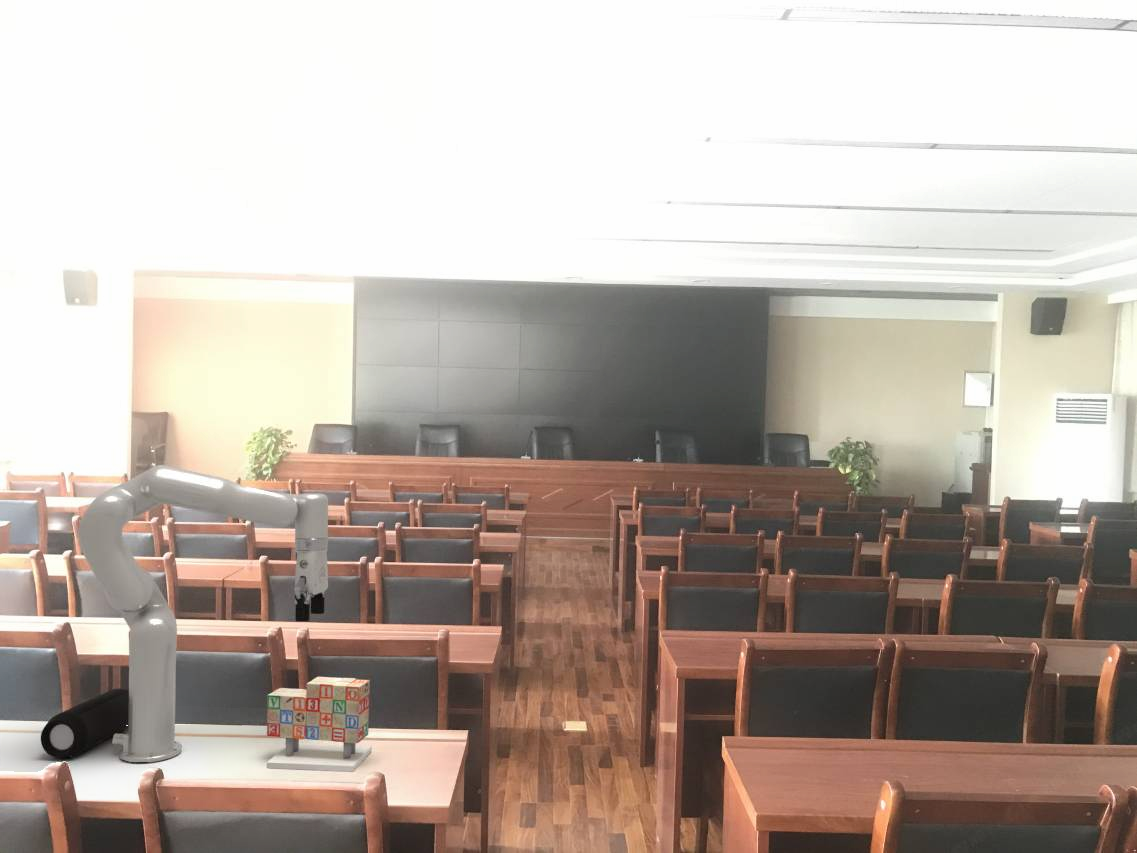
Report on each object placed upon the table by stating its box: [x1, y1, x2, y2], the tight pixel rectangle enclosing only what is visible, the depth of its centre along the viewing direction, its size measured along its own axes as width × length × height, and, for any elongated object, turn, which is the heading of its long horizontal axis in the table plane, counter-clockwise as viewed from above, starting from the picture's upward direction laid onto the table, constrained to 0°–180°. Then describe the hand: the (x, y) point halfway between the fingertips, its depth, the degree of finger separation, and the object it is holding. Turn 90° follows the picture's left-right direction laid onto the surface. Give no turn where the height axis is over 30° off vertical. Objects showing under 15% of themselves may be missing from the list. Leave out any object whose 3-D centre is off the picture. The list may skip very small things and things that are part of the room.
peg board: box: [266, 738, 372, 773], centre depth 203 cm, size 19×13×5 cm
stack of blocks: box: [266, 676, 371, 744], centre depth 203 cm, size 21×6×12 cm, turn 81°
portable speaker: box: [40, 688, 129, 759], centre depth 213 cm, size 26×10×10 cm, turn 175°
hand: (310, 617), depth 219 cm, fingers open, 9 cm apart
